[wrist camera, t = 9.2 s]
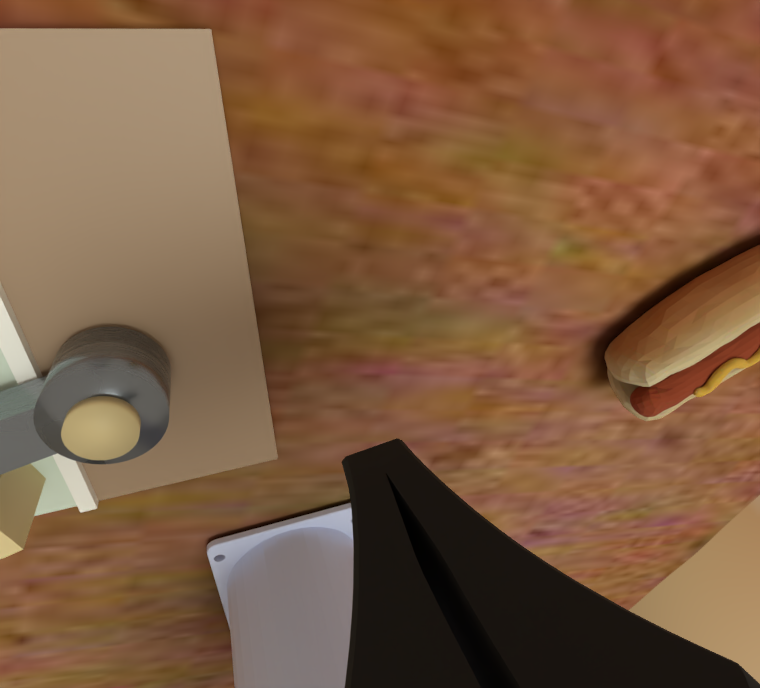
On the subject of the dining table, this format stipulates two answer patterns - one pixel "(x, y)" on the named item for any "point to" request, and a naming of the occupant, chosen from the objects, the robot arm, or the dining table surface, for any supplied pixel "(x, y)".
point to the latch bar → (86, 395)
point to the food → (689, 340)
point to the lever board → (124, 256)
